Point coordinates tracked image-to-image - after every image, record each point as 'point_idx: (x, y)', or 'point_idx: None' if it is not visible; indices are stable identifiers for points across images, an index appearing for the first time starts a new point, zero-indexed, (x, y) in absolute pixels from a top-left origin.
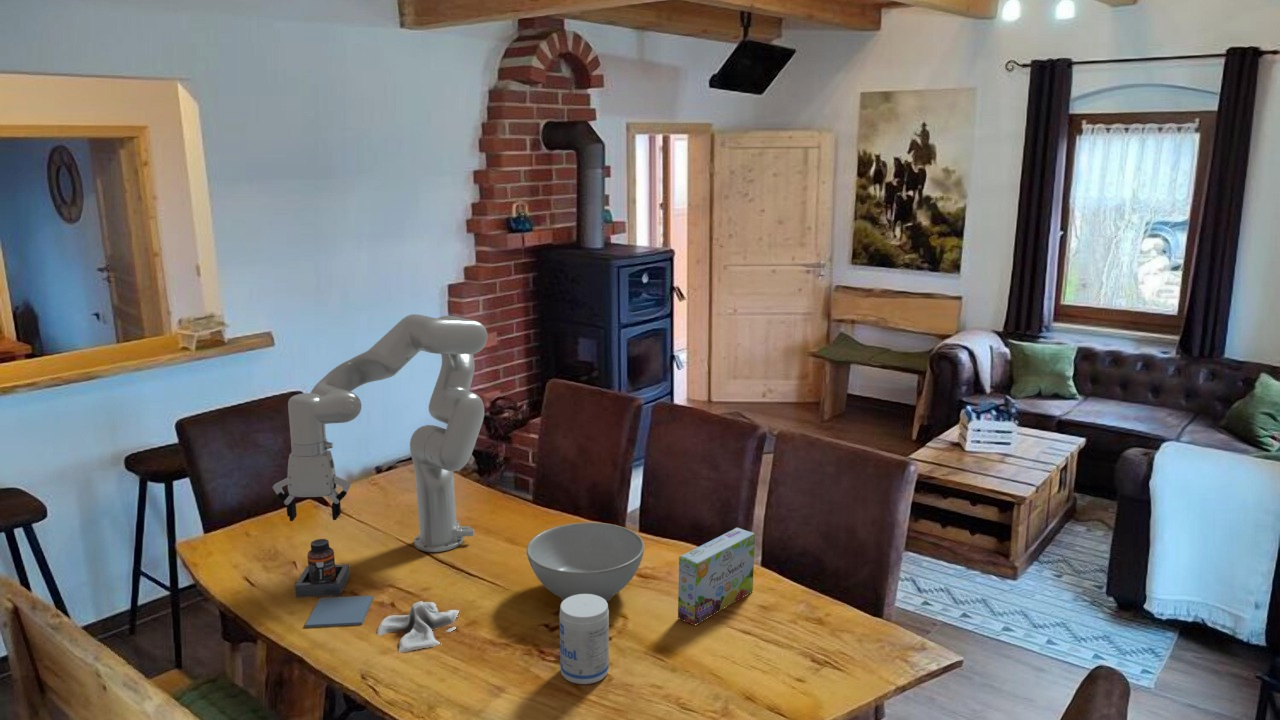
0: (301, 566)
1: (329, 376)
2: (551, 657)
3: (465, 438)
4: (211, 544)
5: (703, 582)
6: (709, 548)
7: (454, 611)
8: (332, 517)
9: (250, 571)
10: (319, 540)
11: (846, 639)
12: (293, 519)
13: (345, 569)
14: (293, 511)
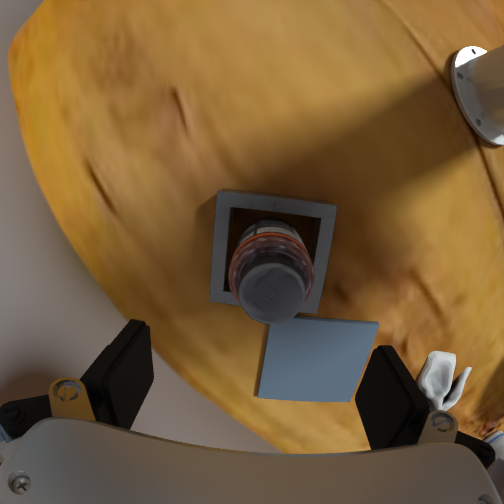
0: (195, 120)
1: None
2: (484, 432)
3: None
4: (33, 36)
5: None
6: None
7: (465, 379)
8: (357, 406)
9: (91, 137)
10: (269, 280)
11: None
12: (151, 374)
13: (329, 238)
14: (137, 395)
